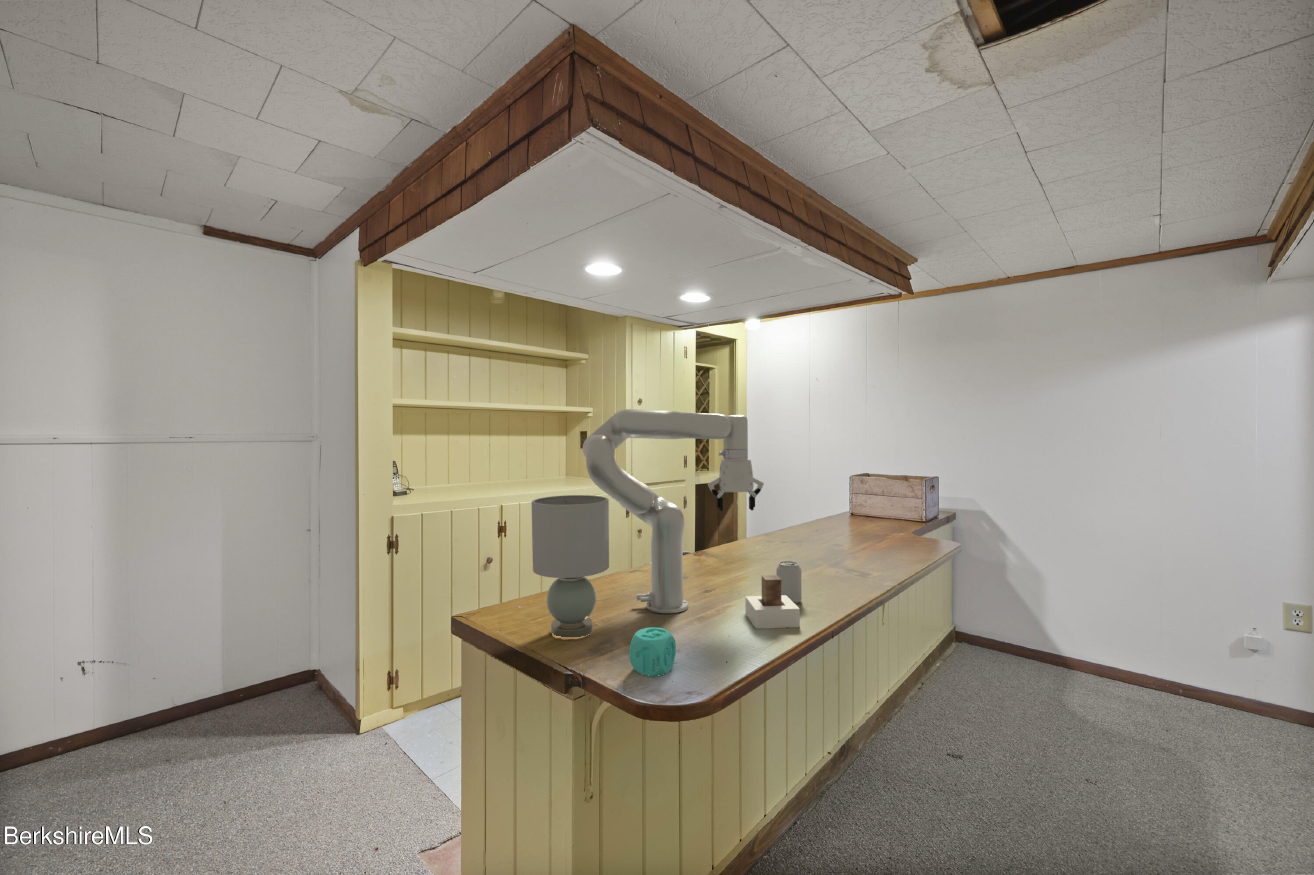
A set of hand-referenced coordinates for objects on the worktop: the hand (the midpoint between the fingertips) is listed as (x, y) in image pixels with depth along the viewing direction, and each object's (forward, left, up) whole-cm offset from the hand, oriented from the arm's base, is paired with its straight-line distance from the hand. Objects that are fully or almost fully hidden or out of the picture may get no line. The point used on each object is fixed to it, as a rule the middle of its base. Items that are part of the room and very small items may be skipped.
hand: (736, 510), depth 171 cm
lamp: (-49, -22, -28) cm, 61 cm away
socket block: (+6, -18, -28) cm, 34 cm away
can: (+16, -2, -28) cm, 33 cm away
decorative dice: (-29, -46, -29) cm, 61 cm away
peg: (+6, -18, -28) cm, 34 cm away
